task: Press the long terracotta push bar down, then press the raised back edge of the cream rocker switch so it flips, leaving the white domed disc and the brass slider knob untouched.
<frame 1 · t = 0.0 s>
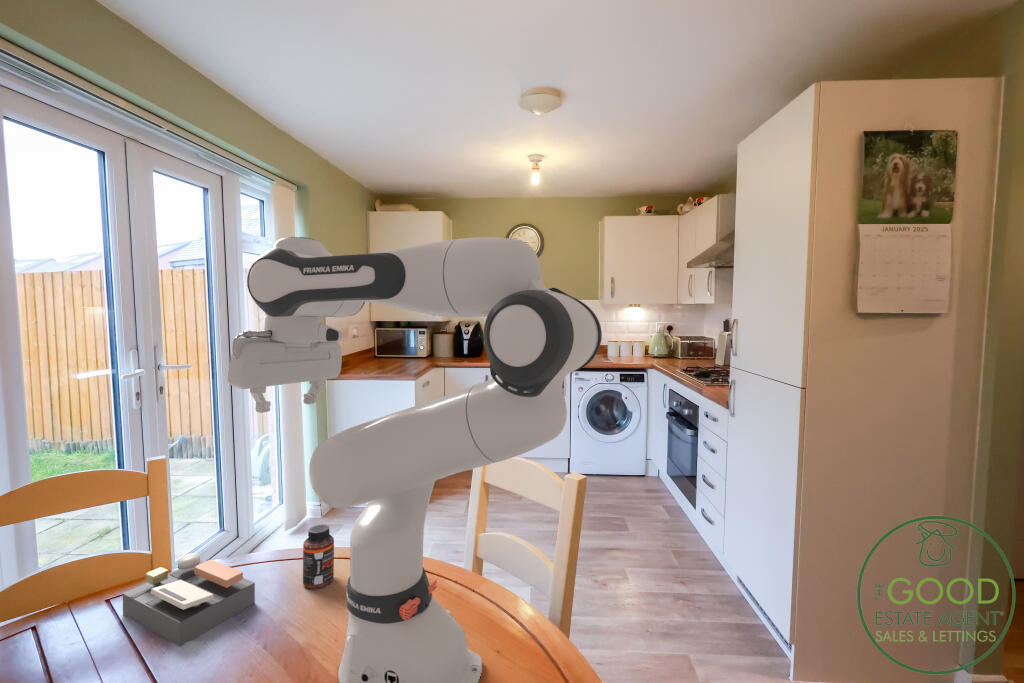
hand: (287, 407, 79), 39 cm above the table, tool pointing down, fingers open, 8 cm apart
rocker: (181, 594, 78), point 5 cm above the table, hinge at 10.0°
panel: (190, 608, 83), on the table
terracotta button: (218, 573, 84), point 6 cm above the table, slide at 0.0 cm
slider knob: (157, 578, 83), point 6 cm above the table, slide at 0.0 cm
supplement bottle: (318, 582, 92), on the table
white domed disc: (189, 561, 88), point 6 cm above the table, slide at 0.0 cm
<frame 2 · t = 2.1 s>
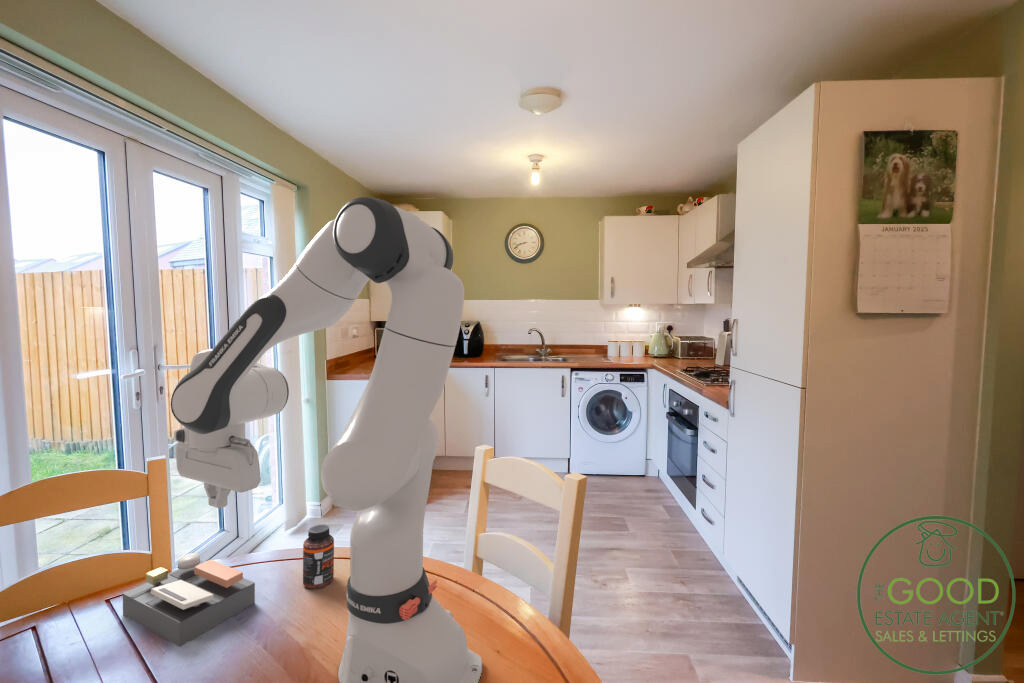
hand: (218, 506, 83), 19 cm above the table, tool pointing down, fingers closed
nothing on the table moved.
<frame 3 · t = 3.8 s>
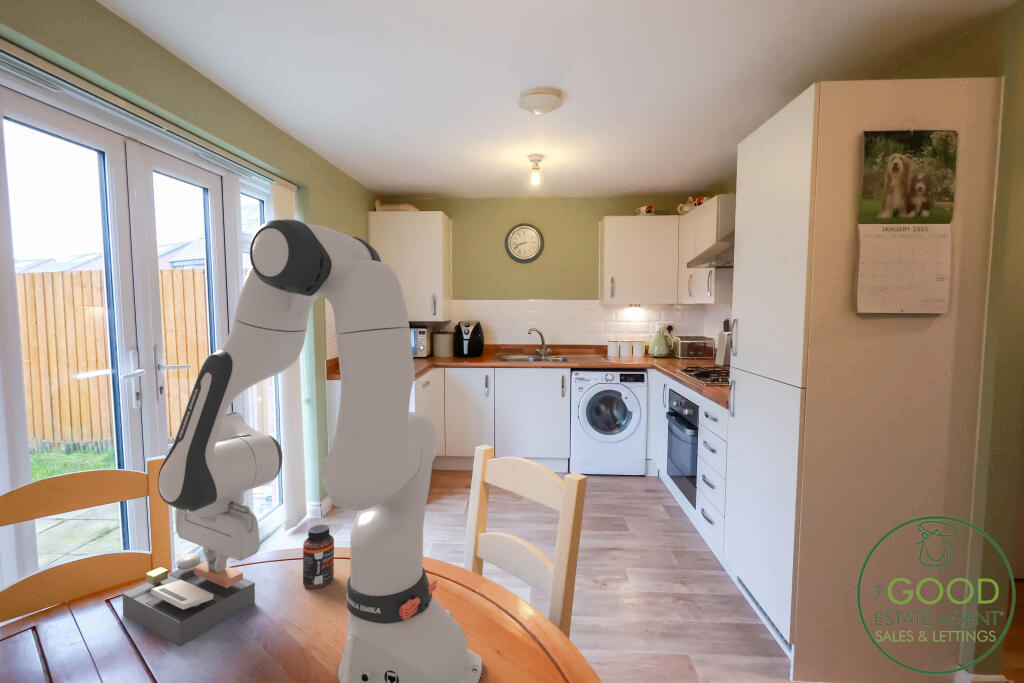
hand: (216, 569, 84), 7 cm above the table, tool pointing down, fingers closed, pressing on terracotta button
terracotta button: (218, 573, 84), point 6 cm above the table, slide at 0.0 cm, touching gripper
everything else where it was.
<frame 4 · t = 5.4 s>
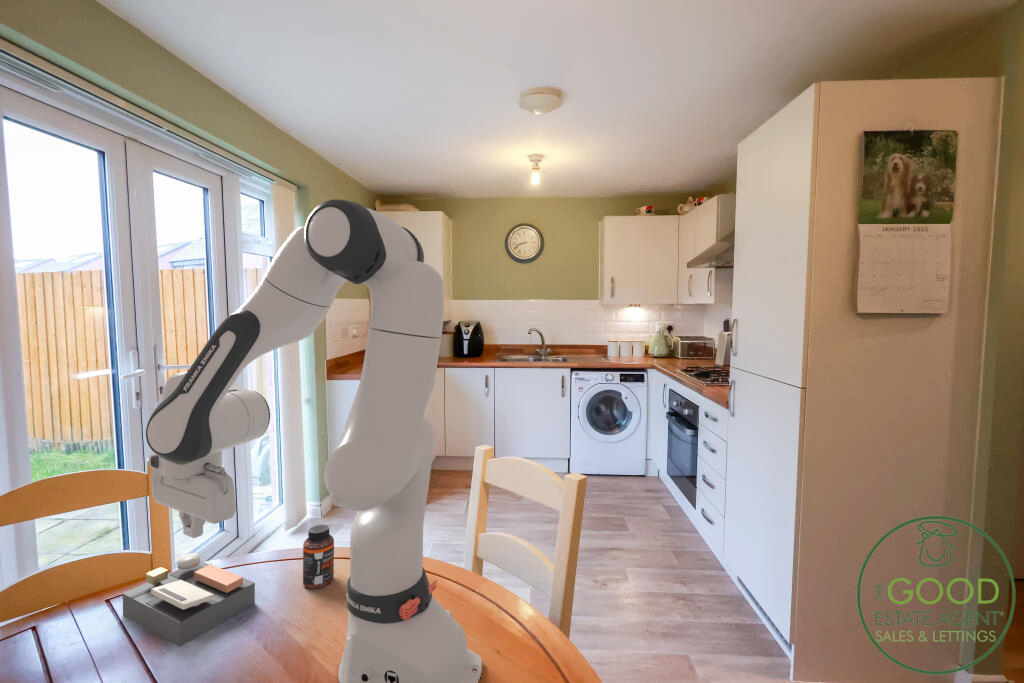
hand: (193, 535, 80), 15 cm above the table, tool pointing down, fingers closed
terracotta button: (218, 578, 84), point 5 cm above the table, slide at 1.0 cm
everything else where it was.
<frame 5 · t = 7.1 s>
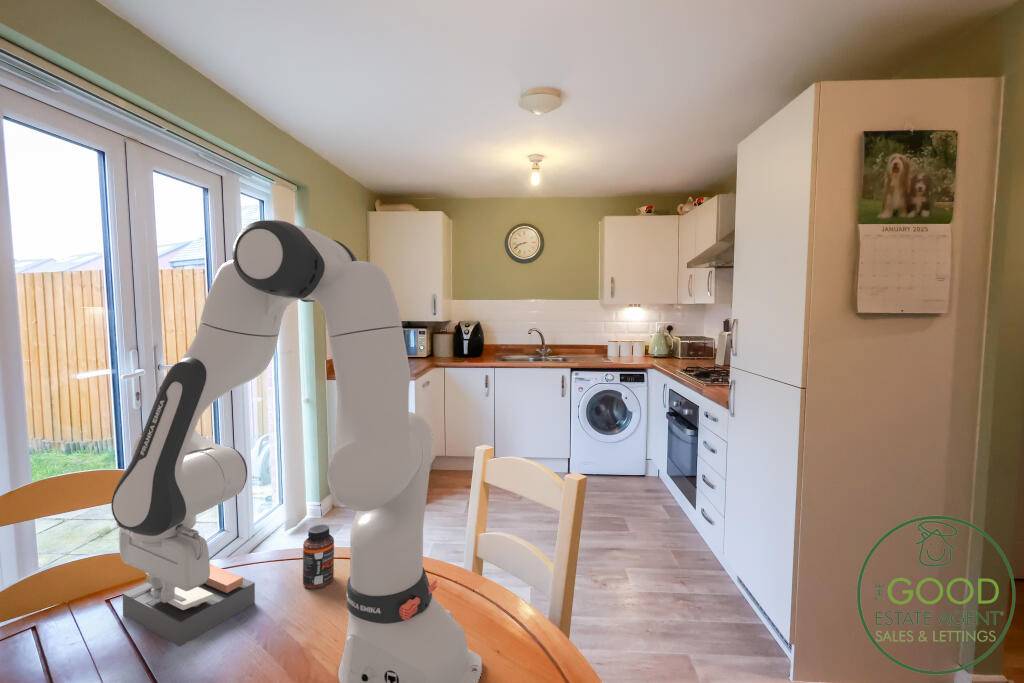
hand: (163, 598, 76), 6 cm above the table, tool pointing down, fingers closed, pressing on rocker
rocker: (181, 594, 78), point 5 cm above the table, hinge at 8.0°, touching gripper
everything else where it was.
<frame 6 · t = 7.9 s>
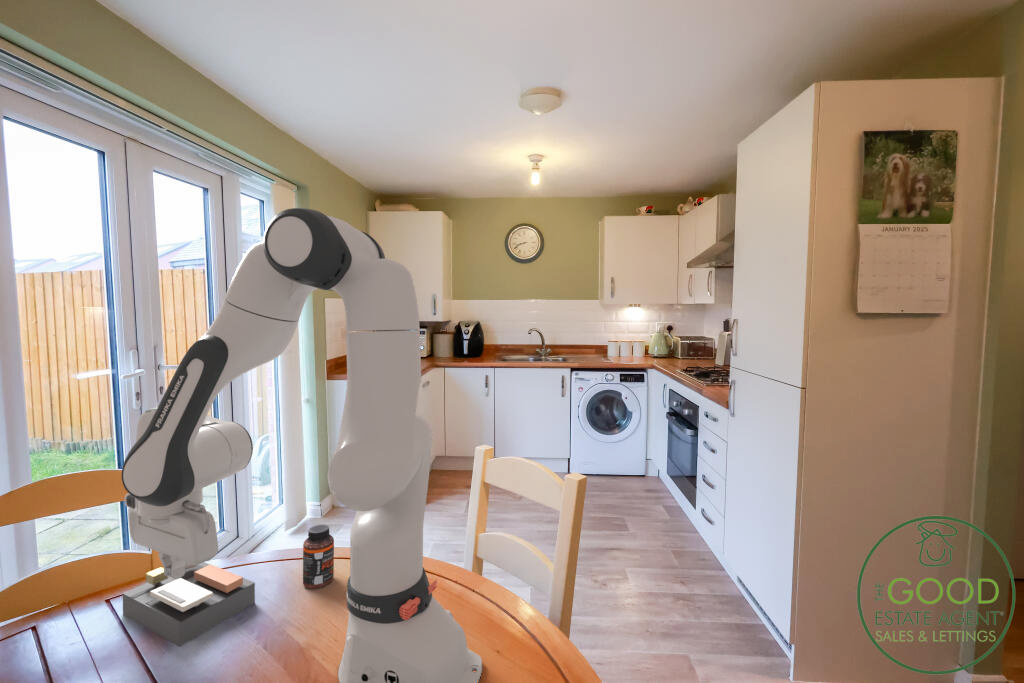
hand: (174, 576, 76), 10 cm above the table, tool pointing down, fingers closed
rocker: (181, 594, 78), point 5 cm above the table, hinge at 0.8°
everything else where it was.
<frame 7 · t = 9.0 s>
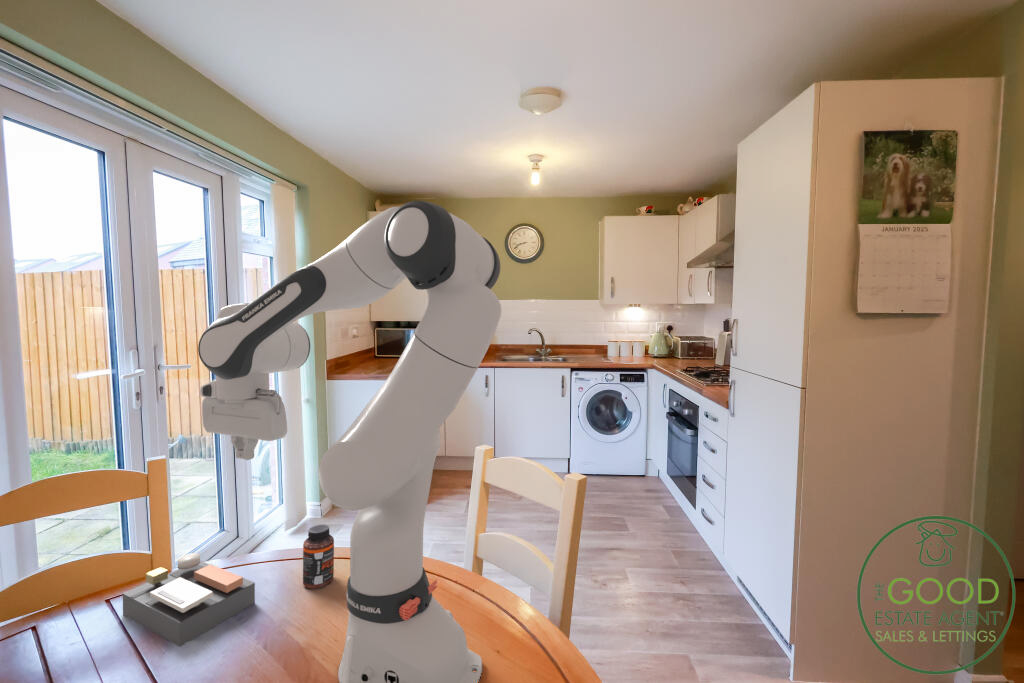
hand: (245, 458, 86), 27 cm above the table, tool pointing down, fingers closed
rocker: (181, 594, 78), point 5 cm above the table, hinge at -3.0°
everything else where it was.
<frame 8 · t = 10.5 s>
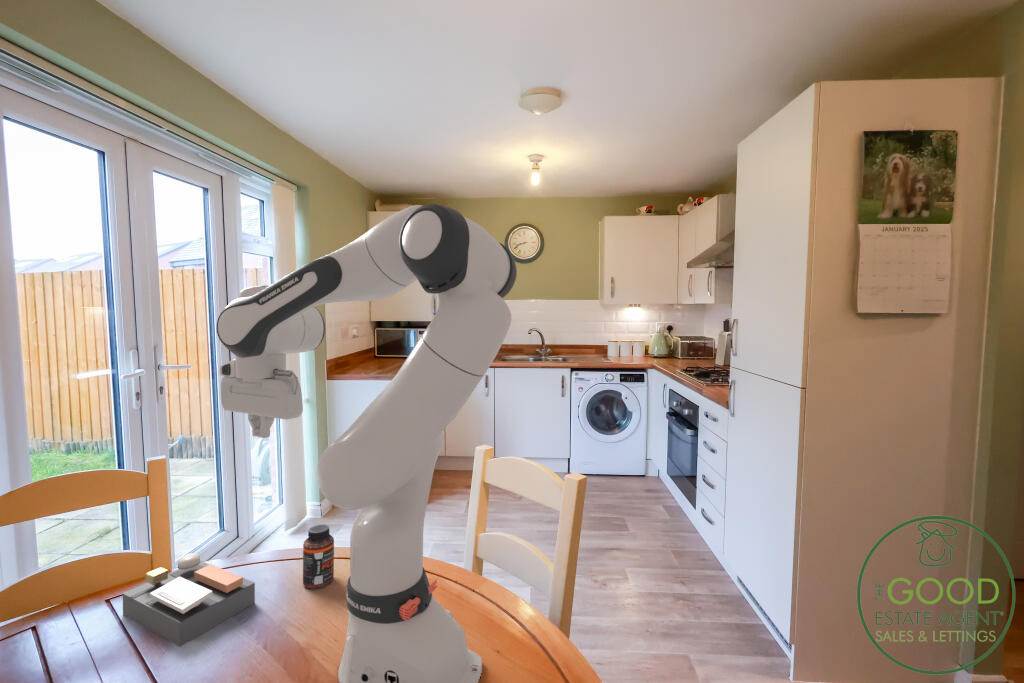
hand: (261, 436, 88), 31 cm above the table, tool pointing down, fingers closed
rocker: (181, 594, 78), point 5 cm above the table, hinge at -7.1°
everything else where it was.
at the end: terracotta button slide at 1.0 cm; rocker at -8° (first picture: +10°); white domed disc slide at 0.0 cm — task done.
